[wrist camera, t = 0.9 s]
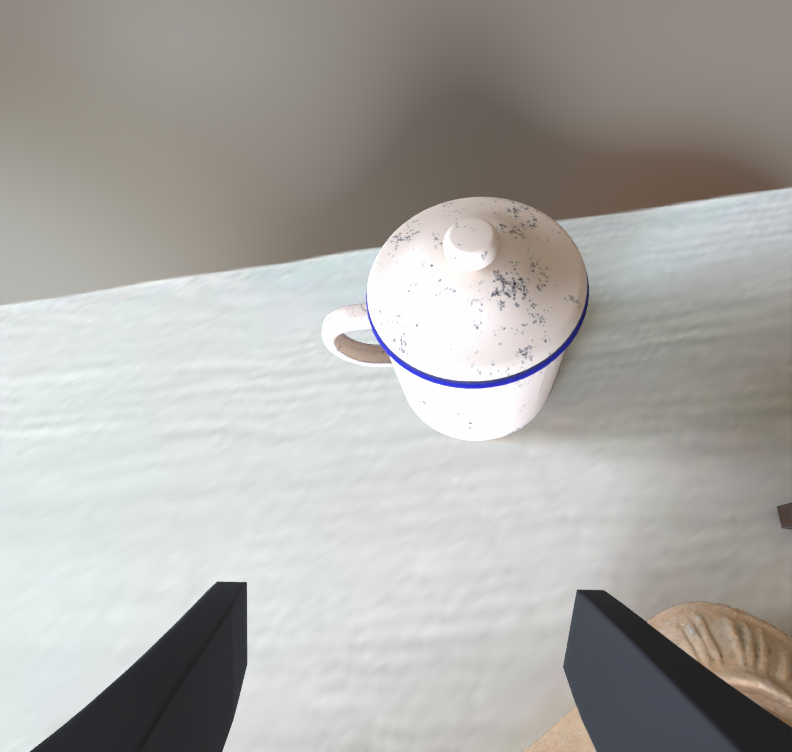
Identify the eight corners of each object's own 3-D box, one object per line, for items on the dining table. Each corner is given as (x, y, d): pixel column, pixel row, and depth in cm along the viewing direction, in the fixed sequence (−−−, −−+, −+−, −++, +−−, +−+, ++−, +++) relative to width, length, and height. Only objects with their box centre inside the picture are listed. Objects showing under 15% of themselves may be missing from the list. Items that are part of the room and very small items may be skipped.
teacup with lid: (546, 298, 28) (585, 127, 17) (568, 443, 24) (634, 338, 14) (354, 314, 30) (285, 169, 19) (347, 451, 26) (256, 364, 15)
